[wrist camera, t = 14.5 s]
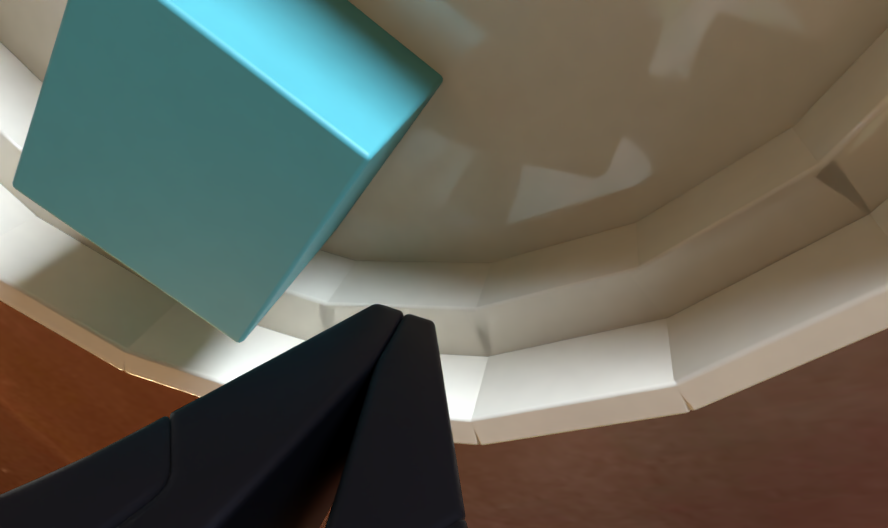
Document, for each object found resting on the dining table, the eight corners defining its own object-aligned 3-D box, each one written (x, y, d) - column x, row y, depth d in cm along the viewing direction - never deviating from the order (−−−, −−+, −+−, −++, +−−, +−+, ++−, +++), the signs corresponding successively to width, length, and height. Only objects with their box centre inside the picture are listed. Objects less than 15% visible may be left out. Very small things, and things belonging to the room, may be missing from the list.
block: (446, 77, 11) (372, 157, 8) (335, 230, 13) (239, 347, 10) (254, -77, 10) (83, -64, 7) (170, 108, 13) (8, 187, 9)
